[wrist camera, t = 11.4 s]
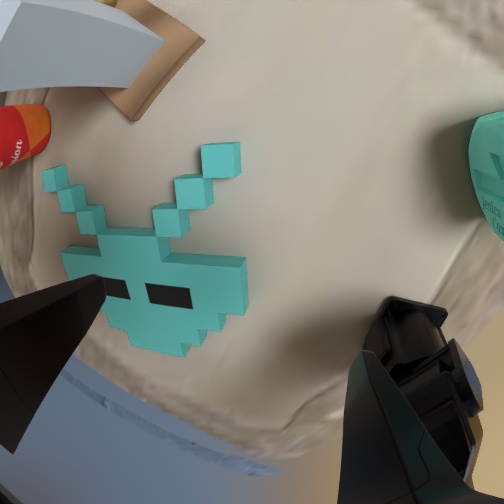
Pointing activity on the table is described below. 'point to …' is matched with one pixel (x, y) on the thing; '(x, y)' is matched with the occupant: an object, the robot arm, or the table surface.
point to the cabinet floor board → (163, 61)
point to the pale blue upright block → (71, 45)
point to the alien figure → (159, 262)
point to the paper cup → (23, 132)
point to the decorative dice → (489, 167)
